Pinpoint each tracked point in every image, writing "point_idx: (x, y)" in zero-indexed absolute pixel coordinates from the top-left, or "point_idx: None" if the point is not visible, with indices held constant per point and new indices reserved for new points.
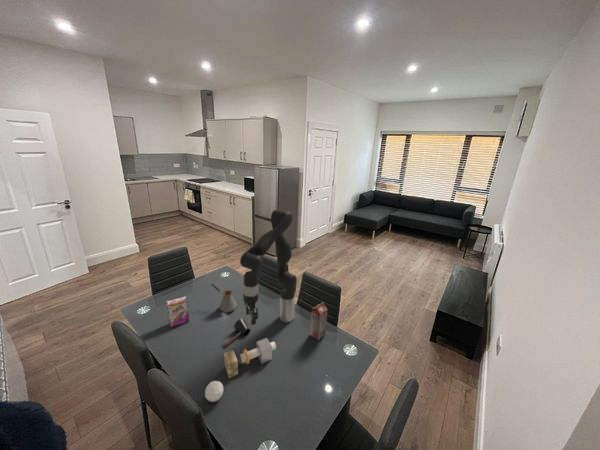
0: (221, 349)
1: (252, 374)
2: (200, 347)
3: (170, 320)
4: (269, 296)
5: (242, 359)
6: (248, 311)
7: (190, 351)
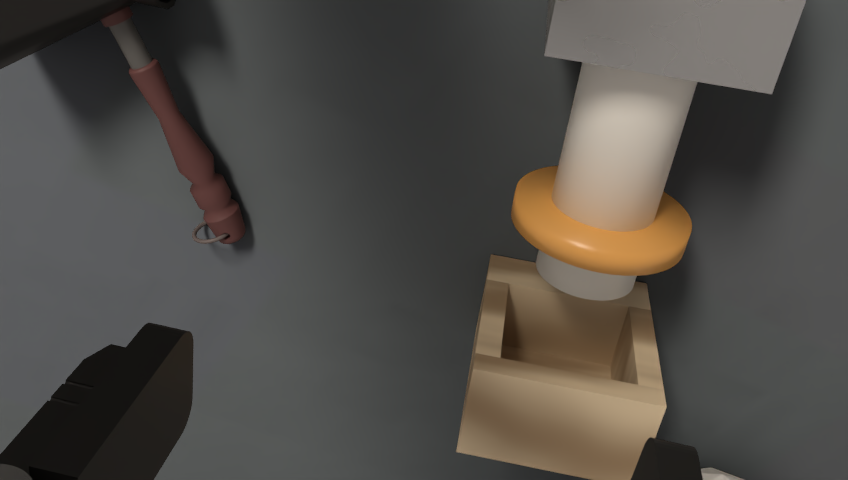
0: (251, 268)
1: (763, 178)
2: None
3: None
4: None
5: (629, 292)
6: (142, 450)
7: None
